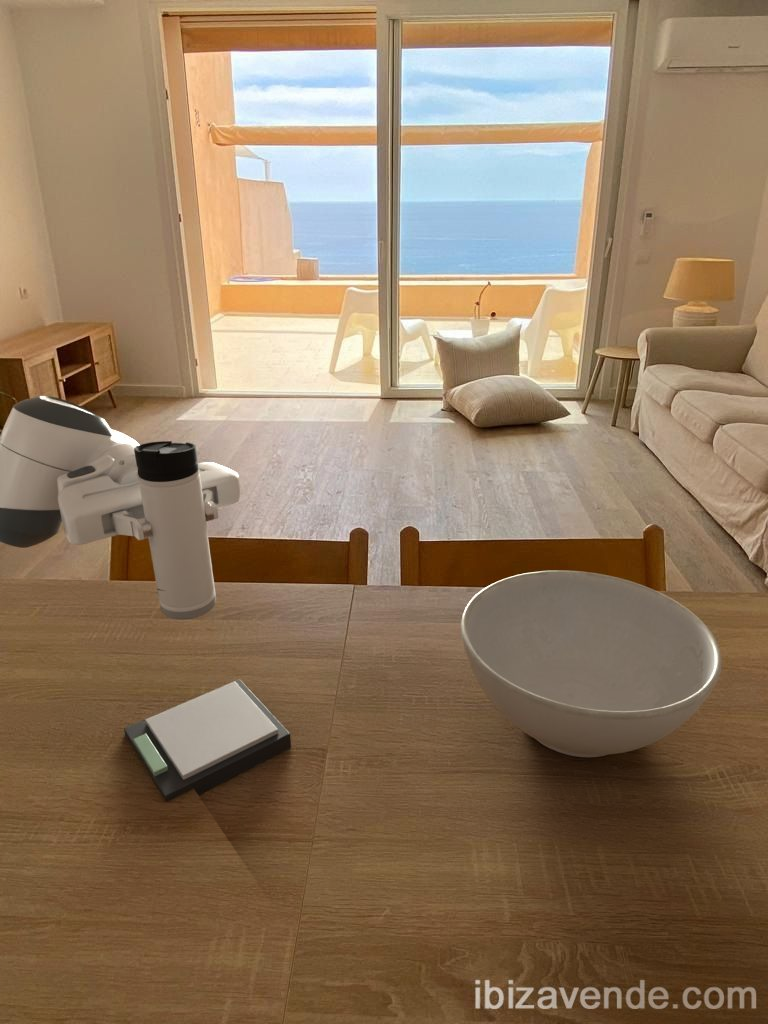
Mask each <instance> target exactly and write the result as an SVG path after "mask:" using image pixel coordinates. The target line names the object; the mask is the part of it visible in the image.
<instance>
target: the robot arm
mask: <svg viewBox="0 0 768 1024" xmlns="http://www.w3.org/2000/svg"><path fill="white" fill-rule="evenodd" d="M138 445H140V444H139V443H138V442H137V441H136V440H135V439H133V438H131V437H130V436H128V435H126V434H125V433H123V432H121V431H118V430H115V429H112V428H111V427H110V426H109V424H108V423H107V421H106V420H105V419H104V418H103V417H101V416H100V415H98V414H97V413H95V412H93V411H92V410H90V409H87V408H85V407H83V406H81V405H79V404H76V403H75V402H72V401H68V400H66V399H62V398H59V397H56V396H55V397H54V396H49V395H39V396H34V397H30V398H27V399H23V400H20V401H19V402H17V403H15V404H14V405H12V408H11V410H10V413H9V415H8V416H7V419H6V421H5V424H4V426H3V428H2V430H1V433H0V543H2V544H5V545H8V546H11V547H16V548H20V549H21V548H22V549H27V548H30V547H33V546H37V545H39V544H42V543H43V542H45V541H48V540H49V539H51V538H53V537H54V536H56V535H57V534H58V533H59V532H60V527H61V525H62V526H63V527H62V528H63V530H64V534H65V537H66V539H67V541H68V542H69V543H70V544H71V545H86V544H89V543H93V542H98V541H101V540H105V539H109V538H111V537H115V536H120V535H121V536H126V537H127V536H129V537H134V538H135V539H136V540H137V541H143V540H146V539H149V537H153V532H152V531H151V529H152V526H151V523H150V522H149V521H147V520H146V519H145V515H144V509H143V503H142V497H141V491H140V485H139V479H138V467H137V464H136V458H135V452H134V448H135V447H136V446H138ZM198 467H199V472H200V473H199V474H200V479H201V486H202V494H203V502H204V510H205V517H206V522H210V521H213V520H217V519H219V512H218V508H222V507H225V506H228V505H233V504H236V503H238V502H239V501H240V499H241V497H242V496H241V495H242V488H241V487H242V486H241V480H240V475H239V474H238V472H236V471H234V470H233V469H230V468H228V467H226V466H223V465H220V464H218V463H215V462H205V461H204V462H198Z"/></svg>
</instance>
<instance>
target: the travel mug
mask: <svg viewBox="0 0 768 1024" xmlns="http://www.w3.org/2000/svg"><path fill="white" fill-rule="evenodd" d="M134 452H135V458H136V464H137V467H138V479H139V485H140V491H141V497H142V503H143V509H144V515H145V519H146V520H147V521H149V522H150V523H151V526H152V529H151V531H152V532H153V537H149V538H148V543H149V544H148V545H149V550H150V556H151V562H152V567H153V568H152V569H153V573H154V579H155V585H156V591H157V597H158V602H159V609H160V612H161V614H163V616H165V617H166V618H168V619H172V620H184V621H185V620H192V619H196V618H199V617H202V616H204V615H206V614H208V613H209V612H211V610H213V608H214V607H215V605H216V603H217V595H216V587H215V580H214V573H213V564H212V556H211V550H210V549H211V548H210V542H209V534H208V526H207V525H208V524H207V521H206V517H205V510H204V502H203V494H202V486H201V479H200V474H199V473H200V472H199V467H198V463H199V462H198V451H197V446H196V444H195V443H193V442H190V441H189V442H188V441H186V442H185V443H183V442H172V440H160V441H150V442H146V443H141V444H139V445H138V446H136V447H135V448H134Z"/></svg>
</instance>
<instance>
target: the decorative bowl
mask: <svg viewBox="0 0 768 1024" xmlns="http://www.w3.org/2000/svg"><path fill="white" fill-rule="evenodd" d="M460 634H461V642H462V646H463V649H464V653H465V656H466V658H467V661H468V663H469V666H470V669H471V671H472V673H473V675H474V677H475V679H476V681H477V683H478V684H479V687H480V688H481V690H482V691H483V693H484V694H485V696H486V698H487V699H488V700H489V701H490V702H491V703H492V705H493V706H494V707H495V709H497V710H498V712H499V713H501V715H502V716H503V717H505V719H507V721H508V722H510V723H511V724H512V725H513V726H515V727H516V728H517V729H519V730H520V731H522V732H523V733H525V735H527V736H529V737H530V738H533V739H535V740H536V741H537V742H539V743H540V744H541V745H543V746H544V747H546V748H549V749H550V750H552V751H555V752H558V753H560V754H564V755H567V756H571V757H577V758H597V757H604V756H607V755H608V756H609V755H616V754H624V753H628V752H633V751H637V750H639V749H642V748H644V747H647V746H649V745H652V744H654V743H657V742H658V741H661V740H662V739H664V738H665V737H668V736H669V735H670V734H672V733H674V732H675V731H677V730H678V729H679V728H680V727H682V726H683V725H684V724H685V723H686V722H688V720H690V718H692V716H693V715H694V714H695V713H696V712H698V710H699V709H700V708H701V707H702V705H703V704H704V702H706V700H707V699H708V697H709V696H710V695H711V693H712V692H713V690H714V689H715V686H716V684H717V683H718V680H719V678H720V675H721V672H722V667H723V659H722V658H723V657H722V652H721V649H720V646H719V644H718V641H717V639H716V637H715V636H714V634H713V633H712V631H711V629H710V628H709V627H708V626H707V625H706V624H705V622H704V621H702V620H701V618H699V617H698V616H697V614H695V613H693V611H691V610H690V609H689V608H687V607H686V606H684V605H683V604H681V603H680V602H678V601H677V600H675V599H673V598H671V597H670V596H668V595H666V594H664V593H662V592H660V591H657V590H655V589H653V588H650V587H648V586H645V585H643V584H640V583H637V582H634V581H631V580H628V579H624V578H620V577H616V576H612V575H606V574H602V573H596V572H588V571H580V570H579V571H578V570H541V571H533V572H526V573H521V574H516V575H513V576H509V577H506V578H503V579H500V580H498V581H496V582H494V583H491V584H490V585H488V586H486V587H485V588H483V589H481V590H480V591H479V592H478V593H476V594H475V595H474V596H473V597H472V598H471V600H470V601H469V602H468V603H467V605H466V607H465V608H464V611H463V613H462V616H461V621H460Z"/></svg>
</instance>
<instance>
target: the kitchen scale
mask: <svg viewBox="0 0 768 1024" xmlns="http://www.w3.org/2000/svg"><path fill="white" fill-rule="evenodd" d="M123 732H124V735H125V738H126V739H127V740H128V742H129V744H130V746H131V747H132V749H133V750H134V752H135V754H136V755H137V757H138V759H139V760H140V762H141V763H142V765H143V767H144V769H145V770H146V771H147V774H148V775H149V776H150V778H151V780H152V781H153V783H154V784H155V787H156V788H157V790H158V791H159V793H160V794H161V796H162V798H163V800H164V801H165V803H168V802H170V801H172V800H174V799H176V798H179V797H180V796H182V795H184V794H186V793H188V792H190V791H192V790H194V791H195V793H196V794H197V796H199V795H202V794H204V793H206V792H208V791H209V790H212V789H213V788H215V787H217V786H219V785H221V784H223V783H225V782H227V781H228V780H231V779H233V778H235V777H237V776H239V775H241V774H243V773H244V772H247V771H248V770H250V769H252V768H255V767H257V766H258V765H260V764H262V763H265V762H266V761H268V760H270V759H272V758H274V757H276V756H278V755H280V754H282V753H284V752H286V751H288V750H290V749H291V748H292V740H291V733H290V732H289V731H288V729H286V727H285V726H284V725H283V724H282V723H281V722H280V721H279V720H278V719H277V717H276V716H275V715H273V713H271V711H270V710H269V708H267V707H266V706H265V704H264V703H262V701H261V700H260V699H259V698H258V697H257V696H256V695H255V694H254V693H253V692H252V690H251V689H249V687H248V686H247V685H246V684H245V683H244V682H243V680H241V679H237V680H234V681H231V682H229V683H227V684H225V685H222V686H220V687H217V688H215V689H212V690H210V691H208V692H206V693H204V694H201V695H198V696H195V697H194V698H192V699H189V700H187V701H185V702H183V703H180V704H177V705H176V706H175V705H174V706H173V707H171V708H168V709H166V710H163V711H161V712H159V713H156V714H154V715H152V716H149V717H147V718H145V719H142V720H140V721H138V722H136V723H134V724H131V725H129V726H127V727H124V728H123Z"/></svg>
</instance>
